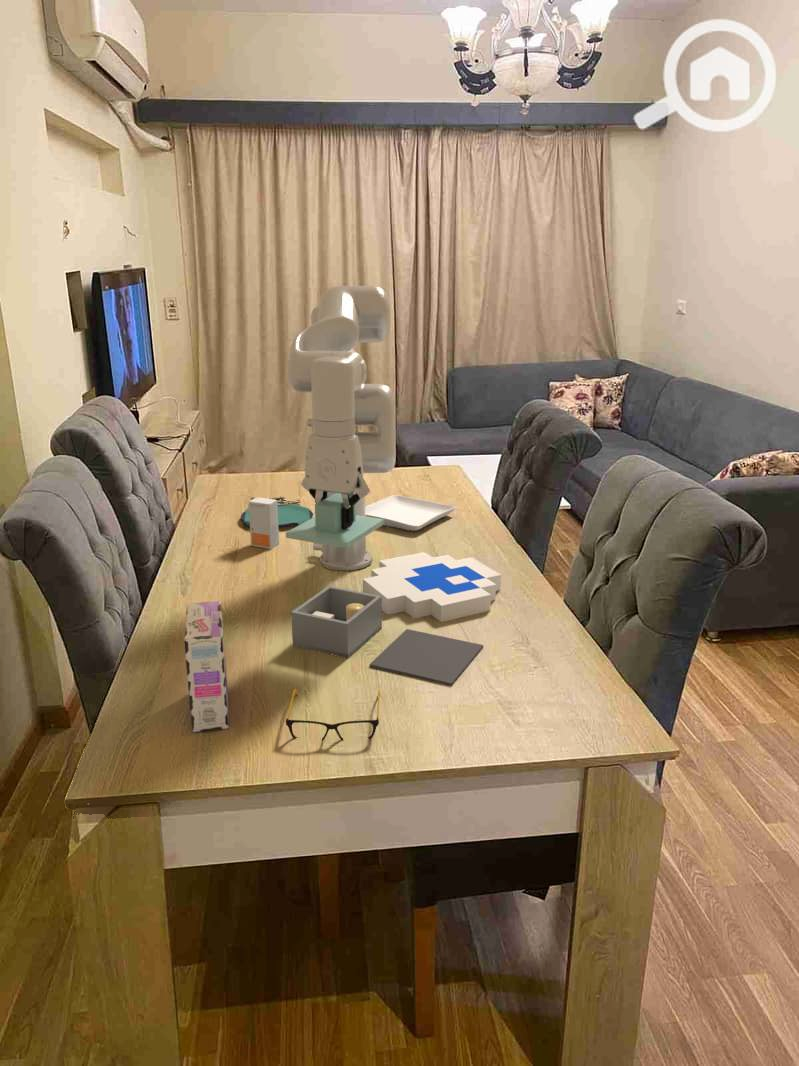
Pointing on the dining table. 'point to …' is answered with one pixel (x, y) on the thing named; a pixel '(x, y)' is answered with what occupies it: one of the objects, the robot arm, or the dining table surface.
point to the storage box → (337, 621)
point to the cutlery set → (286, 514)
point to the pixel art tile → (433, 586)
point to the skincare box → (264, 522)
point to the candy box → (206, 666)
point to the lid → (334, 525)
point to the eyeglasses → (331, 726)
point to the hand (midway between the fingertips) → (336, 524)
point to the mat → (427, 656)
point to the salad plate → (407, 512)
